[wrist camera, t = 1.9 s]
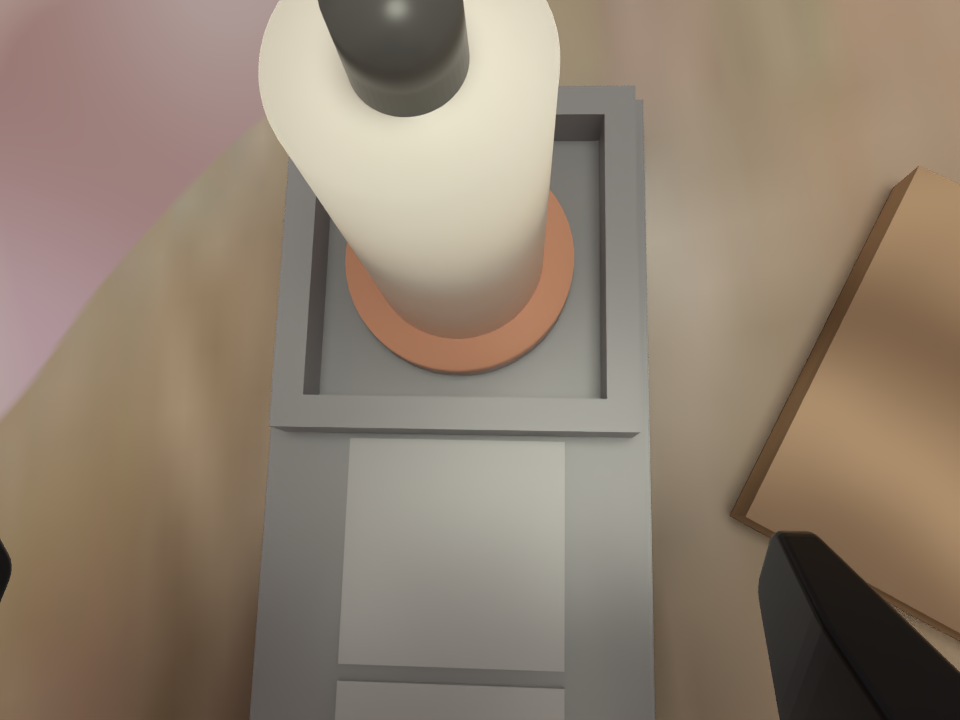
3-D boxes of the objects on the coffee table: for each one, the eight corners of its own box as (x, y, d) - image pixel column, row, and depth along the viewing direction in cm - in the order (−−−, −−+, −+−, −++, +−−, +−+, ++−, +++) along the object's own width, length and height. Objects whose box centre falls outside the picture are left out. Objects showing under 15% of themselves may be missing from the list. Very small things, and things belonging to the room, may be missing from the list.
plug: (446, 422, 20) (345, 317, 9) (310, 256, 21) (61, -29, 10) (618, 279, 21) (737, 2, 9) (476, 124, 22) (424, -297, 10)
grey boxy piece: (647, 1024, 19) (675, 1139, 16) (254, 1000, 20) (197, 1106, 16) (632, 133, 23) (652, 70, 20) (313, 135, 24) (278, 73, 21)
